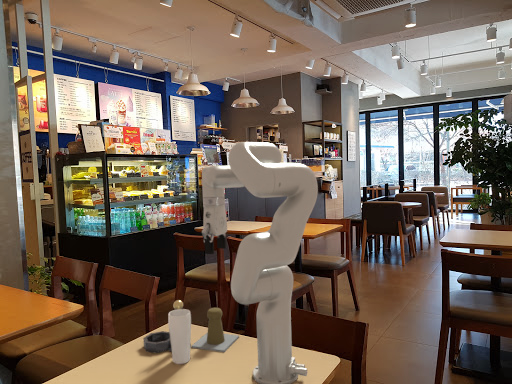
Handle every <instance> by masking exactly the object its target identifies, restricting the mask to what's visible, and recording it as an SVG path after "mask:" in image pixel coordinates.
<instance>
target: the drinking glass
mask: <svg viewBox="0 0 512 384" xmlns="http://www.w3.org/2000/svg"><path fill="white" fill-rule="evenodd" d="M167 316H168V322H167V323H168V332H169V334H170V341H171V349H172V352H171V357H172V362H173V363H174V364H177V365H184V364H187V363H188V362H189V361H190V360H191V347H190V344H191V335H192V314H191V310H189V309H185V308H182V309H178V310H175V309H174V310H171V311H169V312H168V315H167Z"/></svg>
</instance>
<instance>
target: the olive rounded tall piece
mask: <svg viewBox="0 0 512 384" xmlns="http://www.w3.org/2000/svg"><path fill="white" fill-rule="evenodd" d="M206 316H207V319H208V324H207V325H208V327H207V332H208V334H207V343H208V344H211V345H217V344H221V343H223V342H224V341H225V339H224V334H225V333H224V329H223V321H222V317H223V310H222V309H221V308H220V307H211V308H209V309H208V310H207V313H206Z"/></svg>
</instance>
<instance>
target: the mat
mask: <svg viewBox="0 0 512 384" xmlns="http://www.w3.org/2000/svg"><path fill="white" fill-rule="evenodd" d="M207 334H208V331H207V332H206V333H205V334H204V335H202V337H200V338H199V339H197V341H195V342H194V343H193V344H191V347H190V349H192V348H193V349H199V350H204V351H205V350H206V351H211V352H220V353H226V351H228V349H230V347H231V346H232V345H233V344H234V343H235V342H237V340H238V339H239V338H240V335H237V334H229V333H224V339H225V341H224V342H223V343H221V344H217V345H211V344H208V343H207Z"/></svg>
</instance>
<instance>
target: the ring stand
mask: <svg viewBox="0 0 512 384" xmlns="http://www.w3.org/2000/svg"><path fill="white" fill-rule="evenodd" d="M172 306H173V309H174V310H178V309H184V308H183V307H184V302H183V301H182V300H180V299H177V300H175V301H174V302H173V305H172ZM191 346H192V344H191V343H190V348H191ZM143 348H144V350H145V352H147V353H153V354H158V353H162V352H163V353H164V352H169V353H170V352H171V353H172V349H171V341H170V334H169V331H164V330H163V331H162V330H161V331H156V332H151V333H149V334H148V335H145V336H144V337H143Z"/></svg>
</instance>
